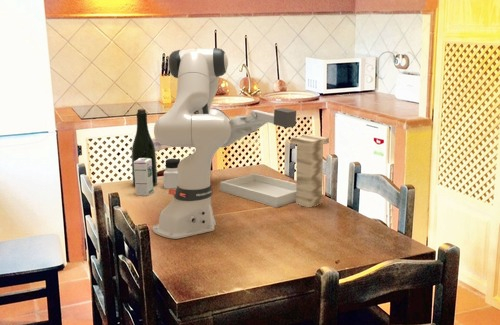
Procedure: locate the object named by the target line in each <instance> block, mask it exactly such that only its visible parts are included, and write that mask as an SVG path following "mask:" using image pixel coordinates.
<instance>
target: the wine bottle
mask: <svg viewBox="0 0 500 325" xmlns="http://www.w3.org/2000/svg"><path fill="white" fill-rule="evenodd" d="M148 125H149V124H148V113H147V112H146V109H143V108H140V109H137V112H136V132H135V136H134V139H133V143H132V146H131V168H132V169H131V170H132V185H133V187H135V174H134V161H136V160H137V159H139V158H151V159H152V173H153V187H154V186H156V185H157V184H158V169H157V167H158V166H157V156H156V148H155V143H154V141H153V139H152V137H151V135H150V131H149V127H148Z"/></svg>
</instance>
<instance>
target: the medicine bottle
mask: <svg viewBox="0 0 500 325" xmlns="http://www.w3.org/2000/svg"><path fill="white" fill-rule="evenodd" d="M180 161H181V160H180V159H179V158H167V159H166V160H165V170H164V171H163V188H164V189H168V190H169V189H174V190H176V189H177V186H178V164H179V162H180Z"/></svg>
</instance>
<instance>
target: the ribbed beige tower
mask: <svg viewBox="0 0 500 325" xmlns="http://www.w3.org/2000/svg"><path fill="white" fill-rule="evenodd" d="M290 139H291V140H290V143H291V144H293V145H296V201H295V205H298V204H299V205H298V206H302V207H305V206H307V207H306V208H309V207H311V208H313V207H312V206H314V207H316V206H315V205H317V204H320V203H322V204H323V172H324V171H323V170H324V169H323V166H324V164H323V163H324V160H323V159H324V145H325V144H330V143H329V142H330V140H329V139H330V138H329V137H326V136H325V137H324V136H321V135H314V134H304V135H299V136H295V137H291V138H290ZM320 205H321V204H320ZM317 206H318V205H317Z"/></svg>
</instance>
